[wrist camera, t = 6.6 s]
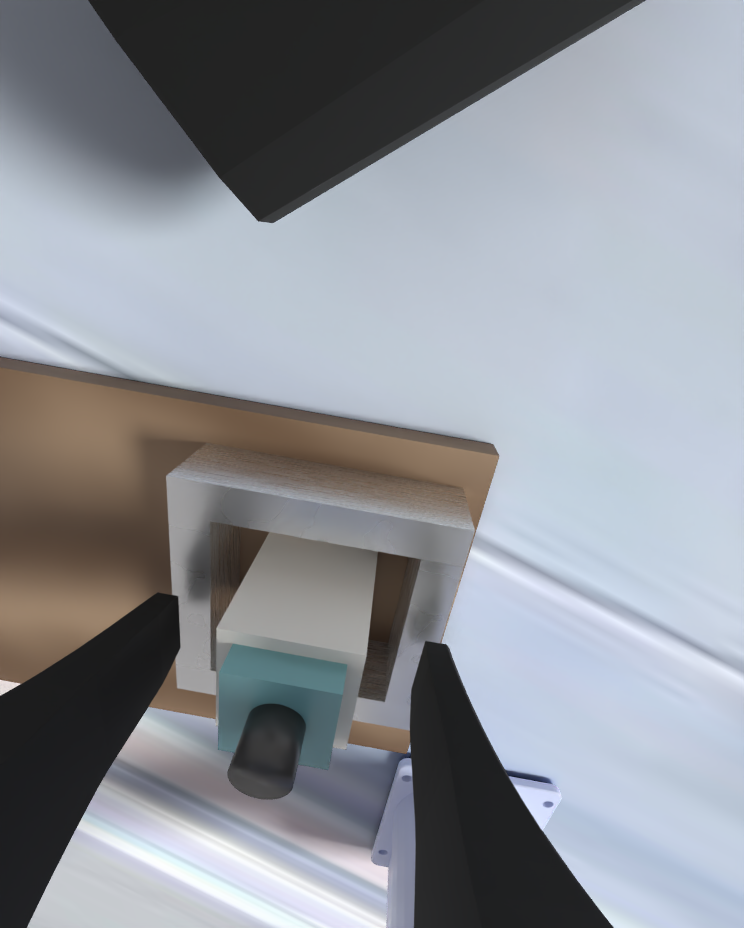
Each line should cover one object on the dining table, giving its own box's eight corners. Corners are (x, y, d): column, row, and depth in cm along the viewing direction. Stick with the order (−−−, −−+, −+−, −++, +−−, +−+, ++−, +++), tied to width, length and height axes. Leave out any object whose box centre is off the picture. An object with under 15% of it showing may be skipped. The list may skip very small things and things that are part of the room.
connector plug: (363, 614, 16) (334, 840, 9) (271, 597, 16) (178, 811, 9) (379, 536, 14) (356, 741, 8) (277, 518, 14) (172, 708, 8)
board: (406, 732, 20) (406, 754, 19) (-3, 657, 20) (-23, 675, 19) (493, 444, 14) (499, 455, 13) (-98, 339, 14) (-134, 343, 13)
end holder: (412, 670, 17) (412, 731, 15) (208, 633, 17) (177, 688, 15) (463, 488, 13) (474, 530, 11) (207, 442, 13) (166, 475, 11)
